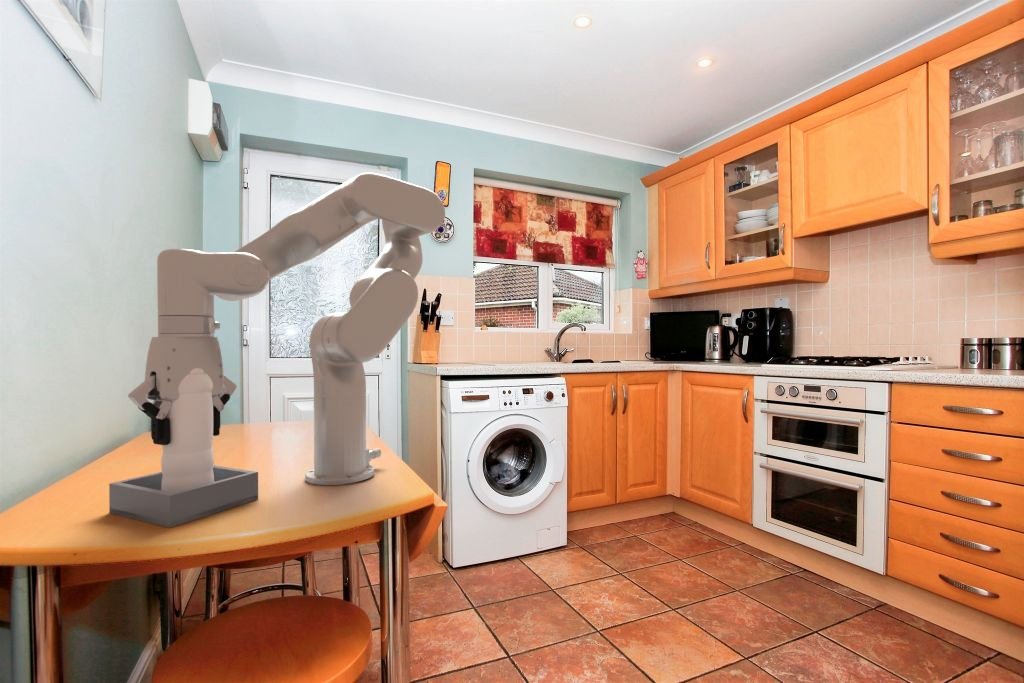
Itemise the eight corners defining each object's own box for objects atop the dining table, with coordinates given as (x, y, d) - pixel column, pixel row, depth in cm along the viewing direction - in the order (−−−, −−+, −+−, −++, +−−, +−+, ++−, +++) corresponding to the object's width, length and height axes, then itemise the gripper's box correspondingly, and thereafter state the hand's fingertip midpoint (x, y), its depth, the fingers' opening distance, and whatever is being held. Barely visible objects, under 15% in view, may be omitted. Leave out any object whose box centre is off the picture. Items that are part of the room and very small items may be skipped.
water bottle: (223, 492, 81) (221, 338, 81) (175, 505, 75) (174, 338, 75) (199, 486, 84) (198, 338, 84) (152, 498, 78) (151, 339, 78)
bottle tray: (200, 488, 89) (199, 463, 89) (258, 499, 83) (258, 472, 83) (109, 512, 76) (109, 483, 76) (169, 527, 70) (169, 495, 70)
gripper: (222, 329, 89) (223, 429, 89) (110, 327, 73) (111, 448, 73) (251, 328, 86) (252, 431, 86) (140, 326, 70) (142, 452, 70)
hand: (187, 438), depth 80 cm, fingers open, 7 cm apart
